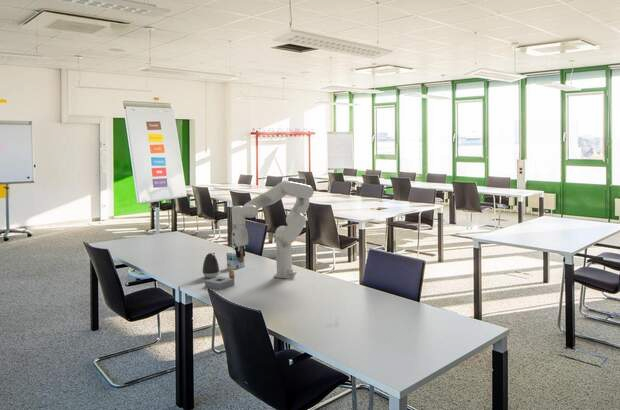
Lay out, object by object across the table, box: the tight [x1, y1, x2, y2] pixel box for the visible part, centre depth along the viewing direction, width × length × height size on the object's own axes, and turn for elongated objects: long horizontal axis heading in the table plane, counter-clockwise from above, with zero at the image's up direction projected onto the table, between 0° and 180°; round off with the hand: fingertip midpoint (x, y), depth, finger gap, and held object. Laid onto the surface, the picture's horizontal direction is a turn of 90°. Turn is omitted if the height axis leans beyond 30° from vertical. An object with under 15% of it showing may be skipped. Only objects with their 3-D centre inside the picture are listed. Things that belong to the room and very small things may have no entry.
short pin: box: [228, 269, 235, 280], centre depth 303 cm, size 3×3×5 cm
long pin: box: [237, 246, 245, 263], centre depth 295 cm, size 3×3×11 cm
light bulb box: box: [226, 250, 245, 270], centre depth 331 cm, size 11×7×11 cm, turn 143°
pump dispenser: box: [202, 252, 220, 279], centre depth 306 cm, size 10×10×15 cm
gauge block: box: [204, 275, 235, 291], centre depth 287 cm, size 12×12×4 cm
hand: (240, 256), depth 295 cm, fingers closed on long pin, 3 cm apart
